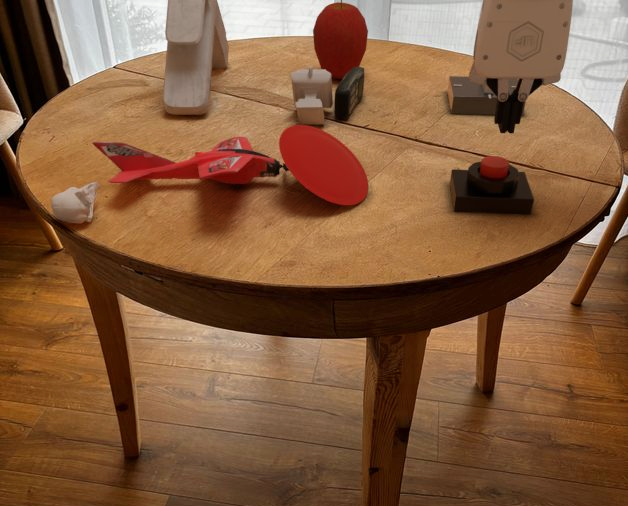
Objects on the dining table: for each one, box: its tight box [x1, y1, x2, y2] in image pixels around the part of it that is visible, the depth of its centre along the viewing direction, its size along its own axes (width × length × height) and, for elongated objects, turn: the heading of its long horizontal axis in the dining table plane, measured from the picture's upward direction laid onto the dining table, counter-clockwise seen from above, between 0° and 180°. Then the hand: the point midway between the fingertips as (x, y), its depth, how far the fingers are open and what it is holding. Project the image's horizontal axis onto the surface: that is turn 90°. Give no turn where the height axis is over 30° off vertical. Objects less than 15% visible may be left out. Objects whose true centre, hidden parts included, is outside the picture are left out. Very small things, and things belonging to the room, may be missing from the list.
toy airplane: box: [91, 136, 290, 187], centre depth 92 cm, size 27×27×5 cm
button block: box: [449, 160, 535, 215], centre depth 90 cm, size 10×8×4 cm
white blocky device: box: [290, 65, 334, 126], centre depth 110 cm, size 9×7×8 cm
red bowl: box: [278, 124, 369, 206], centre depth 92 cm, size 14×14×6 cm
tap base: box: [447, 75, 527, 117], centre depth 117 cm, size 12×11×3 cm
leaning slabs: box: [161, 0, 230, 116], centre depth 120 cm, size 8×25×23 cm
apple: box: [312, 0, 369, 80], centre depth 124 cm, size 10×10×14 cm
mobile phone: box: [333, 66, 365, 119], centre depth 116 cm, size 5×3×15 cm
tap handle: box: [482, 85, 494, 94], centre depth 114 cm, size 7×2×5 cm, turn 175°
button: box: [480, 155, 510, 179], centre depth 88 cm, size 4×4×2 cm
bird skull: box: [50, 181, 101, 224], centre depth 87 cm, size 6×8×4 cm
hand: (505, 128), depth 85 cm, fingers closed
